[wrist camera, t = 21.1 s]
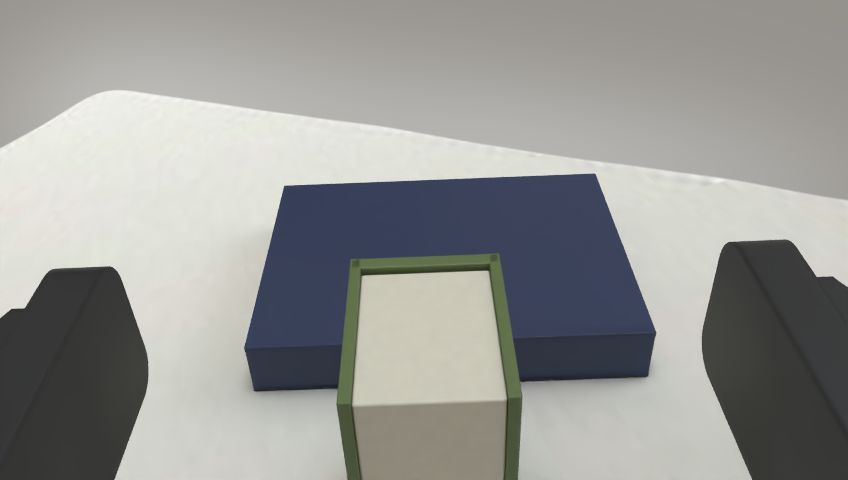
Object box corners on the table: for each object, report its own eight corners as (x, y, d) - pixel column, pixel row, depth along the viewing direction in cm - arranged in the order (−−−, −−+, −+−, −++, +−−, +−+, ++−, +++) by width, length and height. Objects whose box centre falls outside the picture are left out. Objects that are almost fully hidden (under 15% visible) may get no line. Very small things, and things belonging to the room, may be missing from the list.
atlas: (591, 212, 51) (595, 173, 50) (648, 376, 39) (656, 332, 37) (290, 224, 51) (284, 185, 50) (254, 391, 39) (243, 348, 38)
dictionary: (493, 464, 35) (498, 252, 28) (510, 616, 29) (522, 396, 22) (374, 469, 35) (350, 258, 28) (368, 621, 29) (336, 404, 22)
